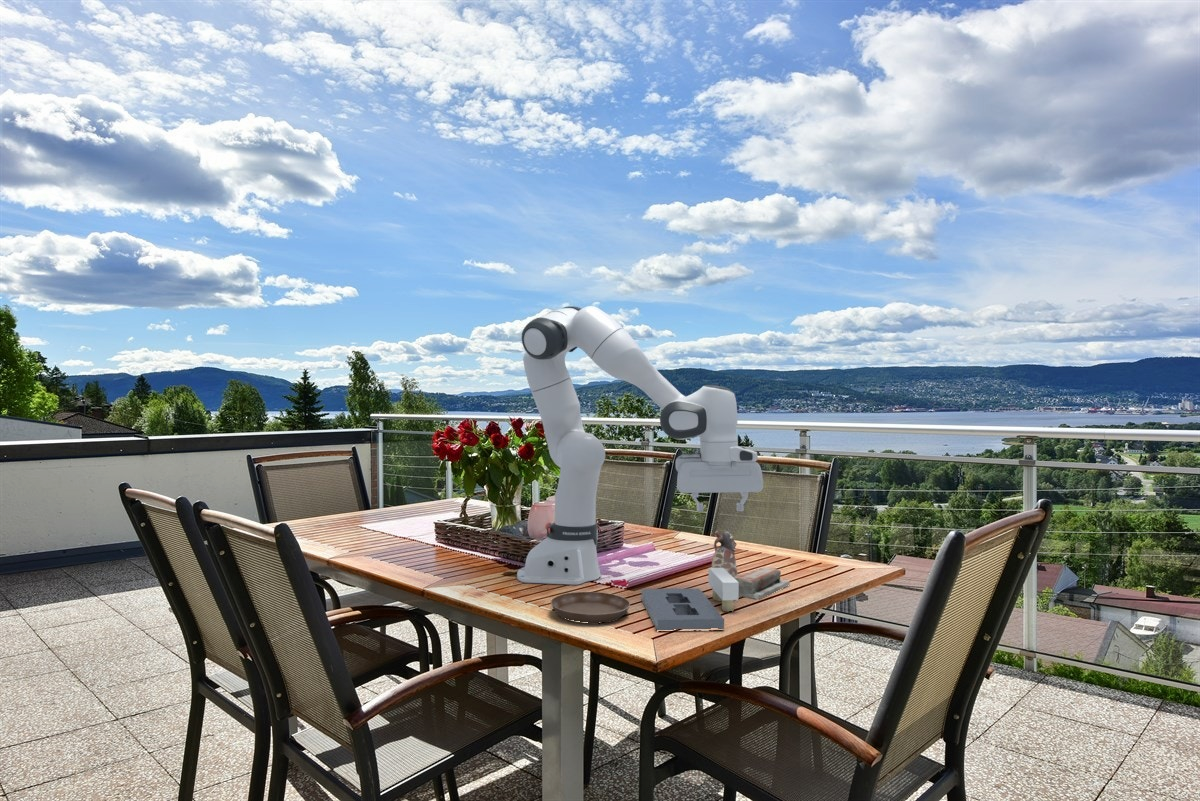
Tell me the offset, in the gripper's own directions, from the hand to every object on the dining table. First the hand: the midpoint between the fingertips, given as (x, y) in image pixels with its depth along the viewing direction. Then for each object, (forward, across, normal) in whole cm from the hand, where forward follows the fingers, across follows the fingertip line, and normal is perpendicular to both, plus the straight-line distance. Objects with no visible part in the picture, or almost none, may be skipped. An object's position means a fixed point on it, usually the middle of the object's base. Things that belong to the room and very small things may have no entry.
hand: (720, 511), depth 175 cm
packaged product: (+23, +10, +12) cm, 27 cm away
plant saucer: (+21, -31, -13) cm, 39 cm away
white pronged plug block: (+22, 0, -3) cm, 22 cm away
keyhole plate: (+21, -11, -11) cm, 26 cm away
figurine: (+22, +4, +26) cm, 34 cm away
